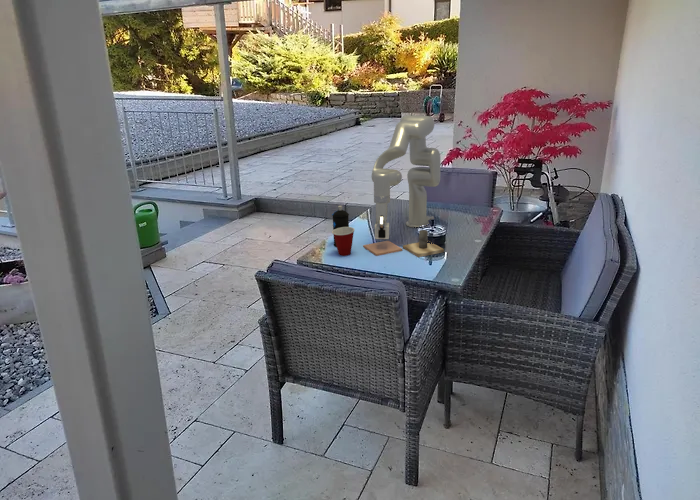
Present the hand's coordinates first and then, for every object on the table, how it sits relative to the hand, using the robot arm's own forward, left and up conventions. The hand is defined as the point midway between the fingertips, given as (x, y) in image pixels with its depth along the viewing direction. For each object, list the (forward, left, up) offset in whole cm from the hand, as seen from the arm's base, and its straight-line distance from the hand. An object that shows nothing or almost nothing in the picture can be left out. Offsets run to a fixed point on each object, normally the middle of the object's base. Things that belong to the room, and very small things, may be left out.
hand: (382, 235), depth 242 cm
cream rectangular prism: (0, 0, -1) cm, 1 cm away
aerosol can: (+15, -15, -7) cm, 22 cm away
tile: (0, 0, -7) cm, 7 cm away
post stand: (-16, +11, -7) cm, 21 cm away
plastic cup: (+19, -3, -7) cm, 21 cm away
